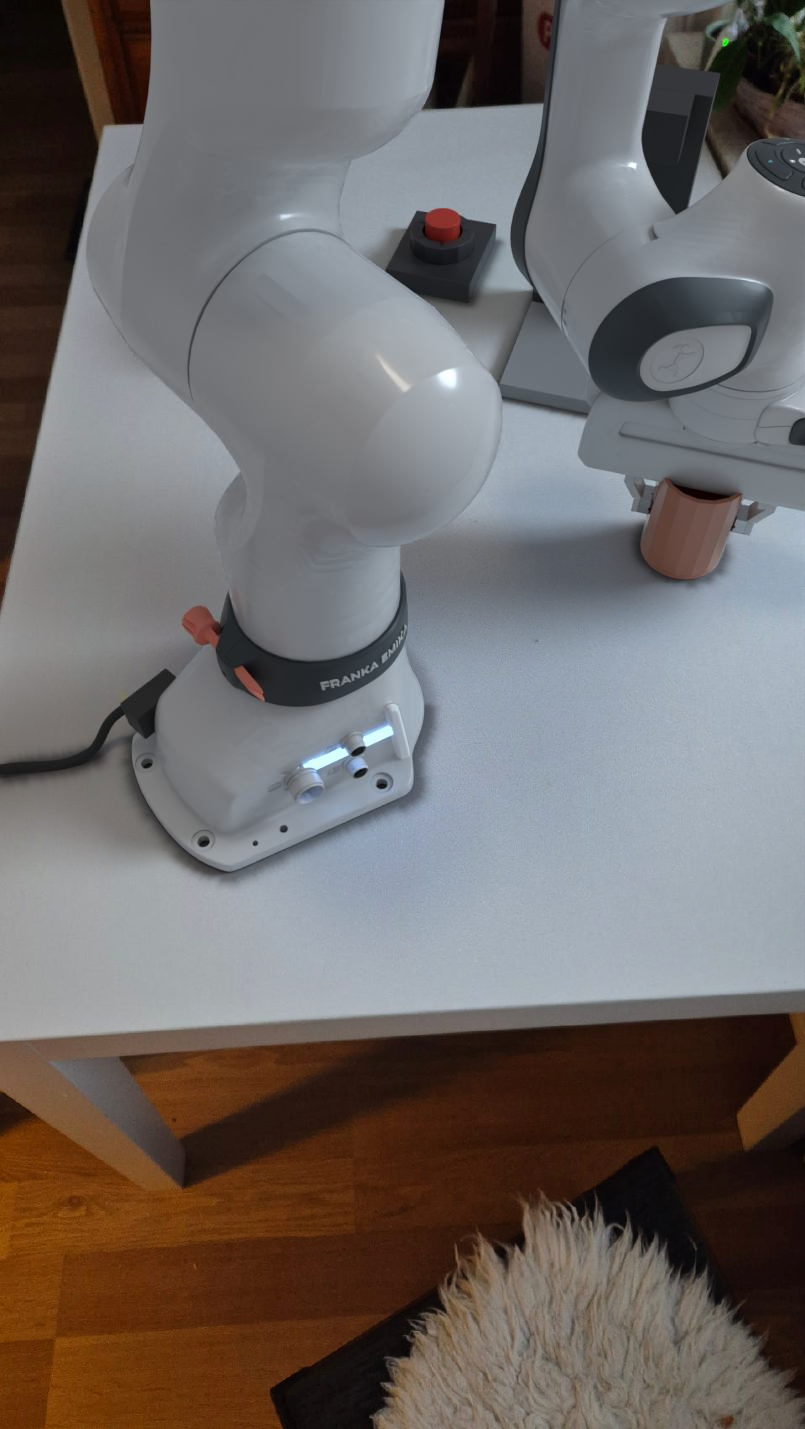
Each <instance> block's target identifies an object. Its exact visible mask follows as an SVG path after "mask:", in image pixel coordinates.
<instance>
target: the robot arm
mask: <svg viewBox="0 0 805 1429" xmlns="http://www.w3.org/2000/svg"><path fill="white" fill-rule="evenodd" d="M149 1H150V2H149V5H150V6H149V7H150V33H151V36H150V37H151V39H150V40H151V42H150V70H149V80H148V93H147V99H146V105H145V106H146V107H145V112H144V119H143V123H142V128H141V134H140V137H139V138H140V139H139V143H138V146H137V150H136V154H135V157H134V161H133V163H132V164H130V165H129V166H128V167H127V168H125V169H124V170H123V171H121V172H120V173H119V174H118V175H117V176H116V177H115V178H114V180H112V182H111V183H110V184H109V185H108V186H107V188H106V189H105V191H104V192H103V194H102V195H101V197H100V199H99V200H98V202H97V204H96V207H95V209H94V211H93V213H92V216H91V219H90V222H89V225H88V230H87V236H86V242H85V243H86V244H85V260H86V262H85V263H86V269H87V274H88V278H89V281H90V285H91V286H92V288H93V291H94V293H95V295H96V297H97V299H98V301H99V302H100V303H101V305H102V307H103V309H104V311H105V312H106V314H107V315H108V317H109V319H110V321H111V322H112V324H113V325H114V327H115V328H116V330H117V331H118V333H119V334H120V336H121V338H122V339H123V340H124V342H125V344H126V345H127V347H128V348H129V350H130V351H131V352H132V354H133V355H134V356H135V358H136V359H137V360H138V361H139V362H140V363H141V364H142V365H143V366H144V367H145V368H146V369H147V370H149V372H151V373H152V374H153V375H154V376H155V377H156V378H158V380H159V381H161V382H162V383H163V385H165V386H166V387H167V388H168V389H169V390H170V391H171V392H172V393H173V394H174V395H175V396H176V397H178V398H179V399H180V400H181V401H182V402H183V403H184V404H185V405H186V406H187V407H189V409H191V411H193V412H194V413H195V414H196V415H197V416H198V417H199V418H200V419H201V420H202V421H203V422H204V423H205V425H206V426H207V427H208V428H209V429H210V430H211V431H212V432H213V433H214V434H215V435H216V437H217V438H218V439H219V440H220V441H221V443H222V445H223V446H224V447H225V449H226V451H227V452H228V454H229V455H230V456H231V458H232V460H233V461H234V462H235V465H236V466H237V468H238V469H239V472H238V473H237V475H236V476H235V477H234V478H233V480H232V481H231V482H230V484H228V486H227V487H226V489H225V490H224V492H223V493H222V495H221V496H220V498H219V501H218V503H217V506H216V509H215V513H214V521H213V533H214V538H215V541H216V546H217V550H218V554H219V557H220V563H221V566H222V567H221V568H222V570H223V574H224V579H225V582H226V586H227V591H226V595H225V598H224V603H223V607H222V610H221V615H220V617H219V618H220V619H219V621H218V620H215V619H214V617H213V614H212V613H211V611H210V610H209V608H207V607H206V606H203V605H196V606H193V607H191V608H190V609H188V610H187V611H186V612H185V613H184V614H183V617H182V619H181V626H182V627H183V629H184V630H185V631H186V633H188V634H189V635H190V636H192V638H193V641H194V642H195V644H197V646H198V645H199V646H203V647H202V648H201V649H200V650H199V651H198V652H197V654H195V656H194V657H193V658H192V659H191V660H190V661H189V663H188V664H186V666H185V667H184V668H183V669H182V670H181V671H180V673H179V674H177V676H176V675H175V674H173V673H172V672H171V671H170V670H169V669H168V668H164V669H162V670H161V671H160V672H159V673H157V674H156V675H155V676H154V677H152V678H151V679H150V680H149V681H147V682H146V683H145V684H143V685H142V686H141V687H139V688H138V689H137V690H135V691H134V692H133V693H132V694H130V695H129V696H127V698H125V699H124V700H122V701H121V702H120V703H119V706H117V707H116V708H115V709H113V710H112V711H111V712H110V713H109V714H108V715H107V716H106V717H105V719H104V720H103V722H102V724H101V725H100V727H99V729H98V732H97V734H96V736H95V737H94V739H93V741H92V742H91V744H90V745H89V746H88V747H87V748H86V749H84V750H82V751H80V752H78V753H75V754H73V755H70V756H68V757H67V756H66V757H63V758H58V759H50V760H38V761H37V760H35V761H31V760H30V761H17V762H16V761H15V762H6V763H0V775H5V774H13V773H24V772H25V773H26V772H47V771H57V770H63V769H67V768H70V767H74V766H77V765H80V764H82V763H84V762H86V761H87V760H89V759H91V758H93V757H94V756H95V755H96V754H97V753H98V752H99V751H100V750H101V749H102V747H103V745H104V744H105V742H106V740H107V738H108V736H109V733H110V731H111V730H112V728H113V726H114V725H115V723H117V722H118V720H120V719H121V718H122V717H123V716H125V718H126V720H127V722H128V725H129V726H130V727H131V728H132V729H134V730H135V731H136V732H135V734H134V735H133V737H132V743H131V758H132V760H131V761H132V766H133V770H134V774H135V778H136V781H137V783H138V786H139V788H140V791H141V793H142V795H143V797H144V800H145V801H146V803H147V804H148V806H149V808H150V809H151V811H152V813H153V814H154V815H155V817H156V819H157V820H158V821H159V823H160V824H161V825H162V826H163V828H164V829H165V830H166V832H167V833H168V834H169V835H170V836H171V838H173V840H174V841H175V842H176V843H177V844H178V845H179V846H180V847H181V848H182V849H184V850H185V851H186V852H187V853H188V854H190V855H191V856H192V857H194V858H196V859H197V860H198V861H200V862H202V863H204V864H205V865H208V866H209V867H212V868H214V869H217V870H221V871H223V872H235V871H238V870H240V869H243V868H245V867H247V866H249V865H251V864H254V863H256V862H259V861H261V860H264V859H266V858H267V857H270V856H272V855H274V854H277V853H279V852H281V851H283V850H286V849H288V848H290V847H292V846H295V845H297V844H299V843H301V842H304V841H307V840H308V839H310V838H313V837H315V836H318V835H320V834H323V833H324V832H327V831H329V830H330V829H334V828H335V827H337V826H340V825H342V824H344V823H346V822H349V821H350V820H353V819H356V818H358V817H360V816H362V815H365V814H367V813H369V812H371V811H373V810H376V809H378V808H380V807H382V806H385V805H387V804H390V803H392V802H394V801H396V800H398V799H401V798H402V797H404V796H406V795H407V794H408V793H410V792H411V791H412V788H413V786H414V781H415V780H414V779H415V778H414V777H415V775H414V774H415V773H414V762H413V761H414V760H413V754H414V750H415V746H416V744H417V742H418V739H419V737H420V734H421V731H422V728H423V723H424V718H425V699H424V695H423V694H424V693H423V690H422V687H421V684H420V682H419V679H418V677H417V676H416V674H415V672H414V670H413V669H412V667H411V664H410V661H409V657H408V654H407V649H406V640H407V635H408V629H409V611H408V608H409V607H408V595H407V585H406V581H405V580H406V579H405V577H404V575H403V571H402V570H401V549H402V548H401V547H402V546H406V545H408V544H409V545H410V544H412V543H415V542H417V541H420V540H422V539H425V538H427V537H429V536H431V535H433V534H435V533H437V532H438V531H440V530H442V529H444V528H445V527H446V526H448V525H449V524H450V523H452V522H453V521H454V520H456V519H457V518H458V517H459V516H460V515H462V513H463V512H464V511H465V510H466V509H467V508H468V507H469V506H470V505H471V504H472V502H473V501H474V500H475V498H476V497H477V496H478V494H479V493H480V492H481V490H482V488H483V487H484V485H485V483H486V482H487V480H488V478H489V476H490V474H491V472H492V470H493V467H494V464H495V461H496V458H497V455H498V452H499V449H500V445H501V439H502V432H503V422H504V408H503V407H504V406H503V405H504V404H503V397H502V396H501V392H500V389H499V383H498V382H497V381H496V379H495V378H494V376H493V375H492V373H490V371H489V370H488V368H487V367H486V366H485V364H483V362H482V361H481V360H480V358H479V357H478V356H477V355H476V353H475V352H474V351H473V350H472V348H471V347H470V346H469V345H468V343H467V342H466V341H465V340H464V339H463V337H462V336H461V335H460V334H459V332H457V331H456V330H455V328H454V327H453V326H452V325H451V324H450V323H449V322H448V321H447V319H446V318H445V317H444V316H443V315H442V314H441V313H440V312H439V311H438V309H436V307H435V306H433V304H431V303H429V302H428V301H426V300H425V299H424V298H422V296H420V295H418V293H414V292H413V291H411V290H410V289H408V288H407V287H406V286H404V285H403V284H402V283H400V282H399V281H397V280H396V279H395V278H393V277H392V276H391V275H389V274H388V273H386V270H384V269H383V268H381V267H380V266H378V265H377V264H376V263H374V262H373V261H372V260H370V259H368V258H367V257H366V256H365V255H363V254H362V253H360V252H359V251H358V250H356V249H355V248H353V246H352V245H351V244H350V243H349V242H348V241H347V239H346V235H345V232H344V229H343V226H342V220H341V199H342V194H343V189H344V186H345V182H346V178H347V175H348V172H349V170H350V166H351V164H352V161H354V160H357V159H360V158H362V157H365V156H367V155H369V154H371V153H373V152H376V151H377V150H379V149H381V148H382V147H384V146H386V145H387V144H388V143H390V142H391V141H393V140H394V139H395V138H396V137H398V136H399V135H400V134H401V133H402V132H403V131H405V130H406V129H407V128H408V127H410V126H411V124H412V123H413V122H414V121H415V119H416V118H417V117H418V116H419V114H420V112H421V111H422V109H423V108H424V106H425V104H426V102H427V100H428V98H429V96H430V93H431V90H432V87H433V83H434V80H435V74H436V66H437V59H438V53H439V52H438V51H439V44H440V38H441V32H442V31H441V30H442V24H443V18H444V17H443V16H444V9H445V1H446V0H149ZM734 1H735V0H554V7H553V14H552V23H551V31H550V32H551V33H550V39H549V41H550V42H549V50H548V58H547V59H548V60H547V69H546V79H545V88H544V96H543V97H544V98H543V105H542V115H541V123H540V130H539V136H538V142H537V145H536V149H535V152H534V157H533V160H532V162H531V164H530V168H529V170H528V173H527V176H526V178H525V181H524V183H523V185H522V188H521V190H520V193H519V196H518V198H517V201H516V204H515V207H514V211H513V214H512V218H511V224H510V233H509V240H510V242H509V243H510V251H511V253H512V257H513V258H512V259H513V261H514V263H515V265H516V267H517V269H518V270H519V272H520V274H521V275H522V277H523V278H524V279H525V280H526V281H527V283H528V284H529V285H530V287H532V290H533V289H534V290H535V292H536V293H537V294H538V295H539V296H540V298H541V299H542V300H543V301H544V303H545V305H546V306H547V308H548V310H549V311H550V313H551V315H552V316H553V318H554V320H555V321H556V323H557V325H558V326H559V328H560V330H561V331H562V333H563V335H564V336H565V338H566V340H567V341H568V342H569V344H570V345H571V346H572V348H573V350H574V351H575V353H576V355H577V356H578V358H579V360H580V361H581V363H582V364H583V366H584V368H585V369H586V371H587V372H588V374H589V375H588V377H587V382H586V388H585V398H586V401H587V403H588V405H589V406H590V407H591V408H590V411H589V414H587V417H586V419H585V422H584V426H583V430H582V433H581V435H580V436H581V437H580V440H579V444H578V447H577V454H576V455H577V457H578V458H579V459H580V461H581V462H582V464H583V465H584V466H585V467H586V468H590V469H594V470H598V471H599V470H600V471H604V472H610V473H614V474H619V475H624V480H623V483H624V485H625V487H626V489H627V490H628V492H629V493H630V496H631V497H632V498H633V501H632V504H631V509H630V512H634V513H637V514H644V515H647V514H648V513H649V509H650V506H651V502H652V496H653V492H654V488H655V485H650V484H646V481H645V480H648V481H654V482H656V481H658V482H662V480H663V478H668V479H670V481H671V483H672V484H673V485H677V486H682V487H687V488H692V489H697V490H702V491H706V492H711V493H716V494H721V495H726V496H732V495H734V494H735V493H741V494H743V495H742V499H744V500H746V501H750V502H752V503H750V504H749V505H747V504H742V505H741V508H740V510H739V513H738V515H737V517H736V520H735V523H734V525H733V528H732V531H731V533H735V534H738V535H743V536H747V537H750V536H751V533H752V531H753V528H754V526H755V524H758V523H759V522H761V521H763V520H765V519H766V518H768V517H769V516H772V515H773V514H775V512H776V510H777V508H778V507H781V508H786V509H790V510H794V511H800V512H805V140H802V139H798V138H792V137H785V136H784V137H769V138H762V139H758V140H755V141H753V142H751V143H750V144H748V145H747V146H746V147H745V148H744V150H743V151H742V152H741V153H740V156H739V158H738V159H737V161H736V163H735V165H734V166H733V168H732V169H731V170H730V172H729V173H728V174H727V175H726V176H725V177H724V178H723V179H722V180H721V181H720V182H719V183H718V184H717V185H715V186H714V187H713V188H712V189H711V190H709V192H708V193H706V194H705V195H704V196H703V197H701V198H700V199H699V200H697V201H696V202H694V203H693V204H691V205H689V207H688V208H687V209H685V210H684V211H682V212H680V213H678V214H675V213H674V211H673V210H672V209H671V207H670V206H669V205H668V203H667V202H666V201H665V200H664V198H663V197H662V195H661V194H660V192H659V190H658V188H657V186H656V185H655V183H654V180H653V178H652V176H651V174H650V171H649V169H648V167H647V164H646V161H645V157H644V154H643V149H642V141H641V136H642V129H643V124H644V119H645V114H646V110H647V105H648V100H649V95H650V90H651V86H652V81H653V76H654V71H655V67H656V64H657V62H658V57H659V51H660V46H661V43H662V42H661V41H662V37H663V33H664V29H665V26H666V23H667V21H668V19H670V18H671V19H672V18H677V17H683V16H688V15H693V14H698V13H702V12H706V11H709V10H710V11H711V10H713V9H716V8H719V7H721V6H725V5H728V4H729V3H732V2H734ZM148 764H152V765H151V766H150V767H148V768H145V766H147V765H148ZM380 784H383V785H386V787H385V788H379V787H378V786H379V785H380ZM204 841H207V842H209V843H208V844H207V845H206V846H201V843H202V842H204Z"/></svg>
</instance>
